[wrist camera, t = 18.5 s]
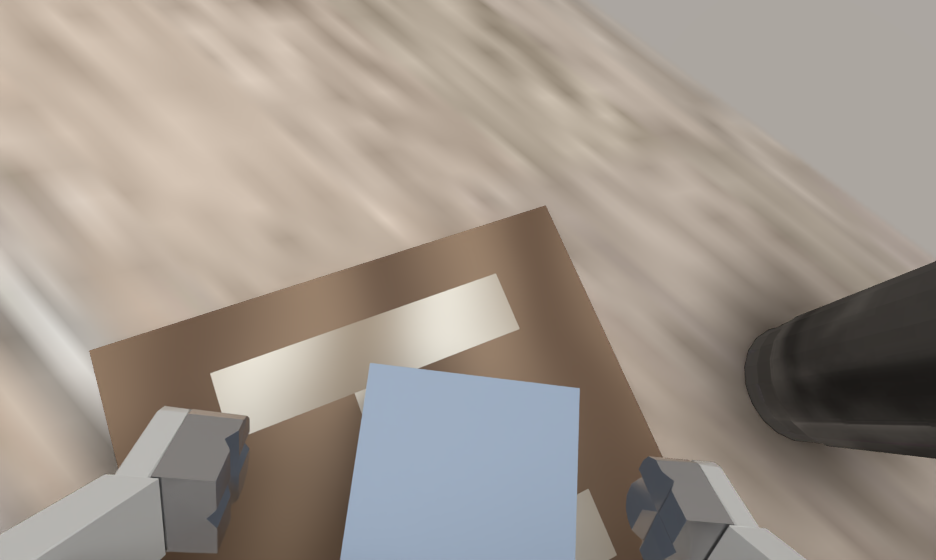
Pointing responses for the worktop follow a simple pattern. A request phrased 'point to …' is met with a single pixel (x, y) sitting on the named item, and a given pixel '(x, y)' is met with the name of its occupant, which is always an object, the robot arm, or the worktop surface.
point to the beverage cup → (855, 370)
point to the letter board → (390, 343)
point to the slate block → (463, 469)
